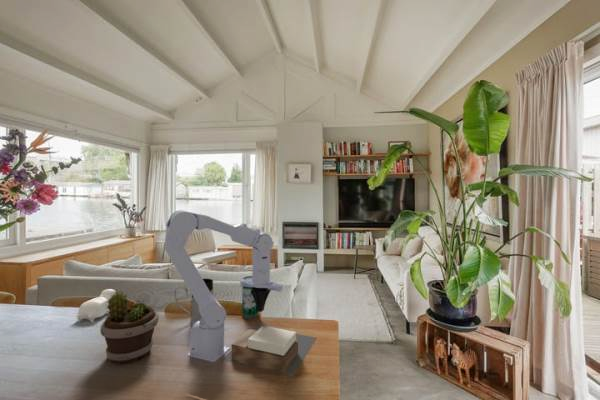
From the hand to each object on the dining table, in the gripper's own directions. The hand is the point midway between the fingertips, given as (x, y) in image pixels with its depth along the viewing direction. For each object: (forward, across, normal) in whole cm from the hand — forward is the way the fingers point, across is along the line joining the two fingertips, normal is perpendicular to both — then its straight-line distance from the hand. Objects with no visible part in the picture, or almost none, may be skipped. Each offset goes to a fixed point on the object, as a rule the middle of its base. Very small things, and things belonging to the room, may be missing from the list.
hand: (260, 310), depth 91 cm
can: (+10, +13, -16) cm, 23 cm away
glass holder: (+10, +30, -4) cm, 32 cm away
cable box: (+10, -6, +8) cm, 14 cm away
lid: (+5, -8, +9) cm, 13 cm away
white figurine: (+10, +68, +6) cm, 69 cm away
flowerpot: (+10, +32, +21) cm, 40 cm away
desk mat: (+10, -6, +3) cm, 12 cm away
